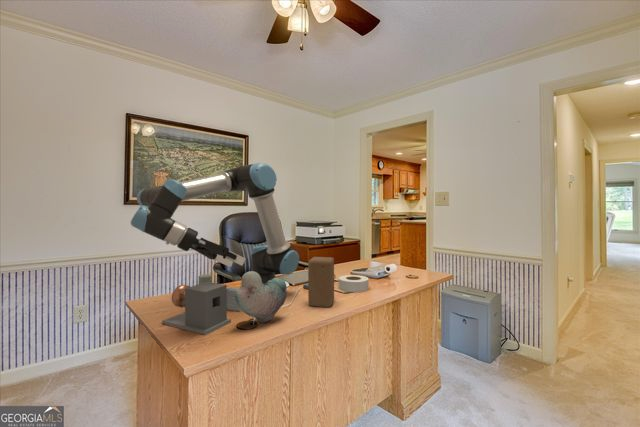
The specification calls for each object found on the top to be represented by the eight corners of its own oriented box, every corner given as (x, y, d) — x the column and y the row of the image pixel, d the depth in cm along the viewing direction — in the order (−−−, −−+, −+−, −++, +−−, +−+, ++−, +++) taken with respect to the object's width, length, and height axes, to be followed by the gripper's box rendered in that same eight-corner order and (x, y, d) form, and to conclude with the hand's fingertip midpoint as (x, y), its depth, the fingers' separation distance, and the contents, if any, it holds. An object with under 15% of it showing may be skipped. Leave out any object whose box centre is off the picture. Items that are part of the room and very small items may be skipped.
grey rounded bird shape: (279, 312, 120) (279, 263, 120) (292, 319, 113) (292, 267, 113) (230, 326, 107) (230, 271, 106) (241, 334, 100) (241, 275, 99)
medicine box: (246, 308, 125) (245, 288, 125) (239, 312, 121) (239, 291, 121) (230, 306, 128) (230, 286, 128) (223, 309, 124) (223, 289, 124)
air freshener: (217, 292, 148) (217, 272, 148) (217, 297, 141) (216, 276, 140) (193, 294, 145) (193, 274, 145) (192, 299, 137) (192, 278, 137)
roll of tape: (339, 284, 164) (339, 274, 164) (368, 284, 162) (368, 274, 162) (337, 292, 149) (337, 281, 149) (369, 293, 147) (369, 282, 147)
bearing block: (162, 323, 109) (161, 285, 109) (189, 313, 120) (188, 278, 120) (205, 335, 100) (205, 293, 99) (230, 322, 110) (230, 284, 110)
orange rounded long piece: (171, 309, 110) (171, 287, 110) (189, 302, 117) (189, 282, 117) (198, 315, 104) (198, 292, 103) (215, 307, 111) (215, 286, 111)
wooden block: (330, 308, 125) (330, 261, 125) (307, 306, 127) (307, 260, 127) (334, 300, 135) (334, 257, 134) (313, 299, 137) (312, 256, 136)
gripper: (171, 249, 109) (223, 273, 117) (182, 242, 88) (244, 271, 97) (181, 231, 112) (232, 256, 120) (194, 220, 91) (254, 251, 100)
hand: (237, 263), depth 108 cm, fingers open, 13 cm apart
